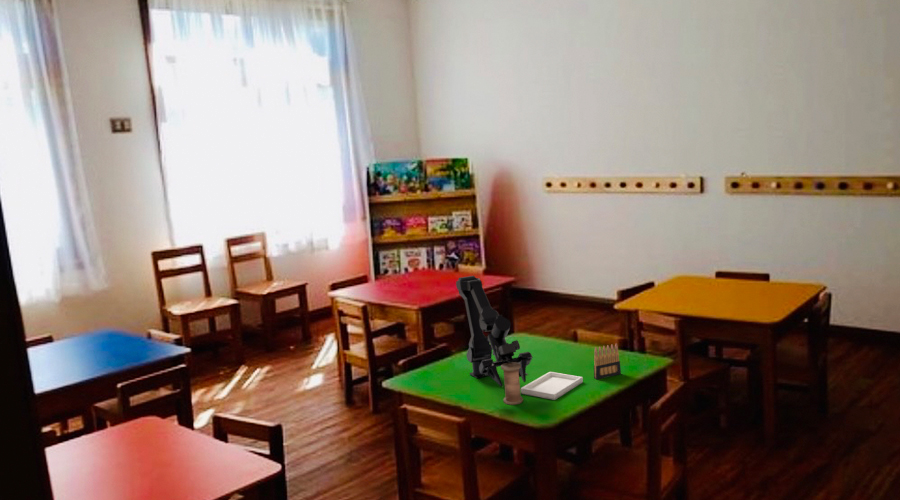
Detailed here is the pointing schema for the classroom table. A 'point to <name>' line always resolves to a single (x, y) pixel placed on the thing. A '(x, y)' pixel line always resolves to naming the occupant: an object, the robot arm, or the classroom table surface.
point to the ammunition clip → (606, 362)
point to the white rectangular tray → (551, 385)
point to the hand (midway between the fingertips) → (513, 384)
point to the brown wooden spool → (512, 383)
